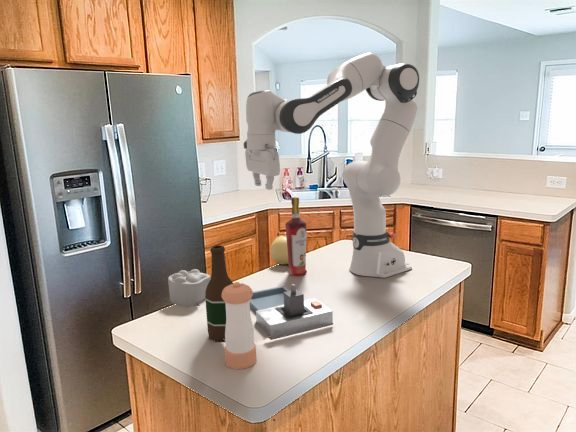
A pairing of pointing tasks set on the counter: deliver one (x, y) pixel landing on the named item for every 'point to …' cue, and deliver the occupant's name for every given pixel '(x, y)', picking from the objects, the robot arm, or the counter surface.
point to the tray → (268, 298)
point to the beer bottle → (217, 295)
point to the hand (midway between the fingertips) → (263, 187)
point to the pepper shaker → (239, 327)
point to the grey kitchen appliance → (294, 319)
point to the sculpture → (279, 250)
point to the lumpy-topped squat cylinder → (188, 287)
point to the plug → (293, 301)
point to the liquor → (296, 241)
